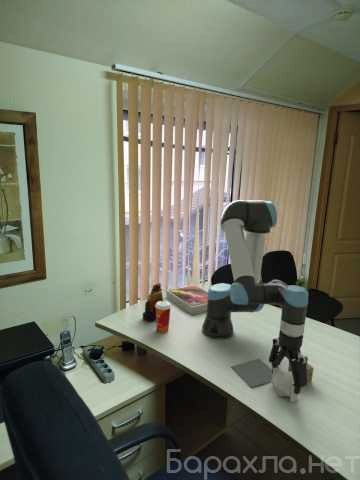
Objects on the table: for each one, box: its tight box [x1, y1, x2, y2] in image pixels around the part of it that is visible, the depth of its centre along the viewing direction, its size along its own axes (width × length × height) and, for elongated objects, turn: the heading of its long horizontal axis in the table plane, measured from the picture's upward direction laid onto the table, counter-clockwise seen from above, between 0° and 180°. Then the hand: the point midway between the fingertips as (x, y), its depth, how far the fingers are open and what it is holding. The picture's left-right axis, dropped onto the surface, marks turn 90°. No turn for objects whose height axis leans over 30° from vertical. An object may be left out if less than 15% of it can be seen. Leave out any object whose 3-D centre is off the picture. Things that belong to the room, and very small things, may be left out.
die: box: [270, 370, 294, 397], centre depth 103 cm, size 8×9×10 cm
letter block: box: [287, 362, 314, 384], centre depth 112 cm, size 6×6×6 cm
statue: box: [142, 282, 164, 323], centre depth 154 cm, size 12×8×20 cm, turn 129°
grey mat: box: [230, 358, 273, 389], centre depth 115 cm, size 13×14×1 cm
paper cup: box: [155, 300, 172, 334], centre depth 143 cm, size 8×8×14 cm
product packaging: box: [165, 284, 208, 316], centre depth 179 cm, size 22×28×5 cm
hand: (284, 391), depth 104 cm, fingers closed on die, 8 cm apart
